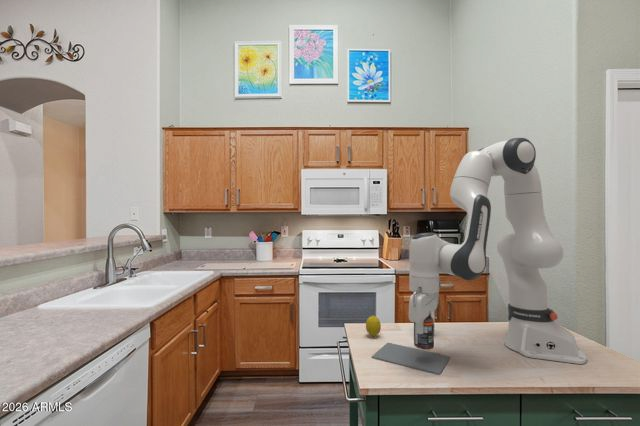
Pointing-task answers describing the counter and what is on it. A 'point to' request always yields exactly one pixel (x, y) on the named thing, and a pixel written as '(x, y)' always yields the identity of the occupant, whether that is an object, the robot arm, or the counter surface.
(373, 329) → the lemon
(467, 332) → the counter surface
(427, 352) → the mat
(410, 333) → the counter surface
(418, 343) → the supplement bottle
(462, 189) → the robot arm
